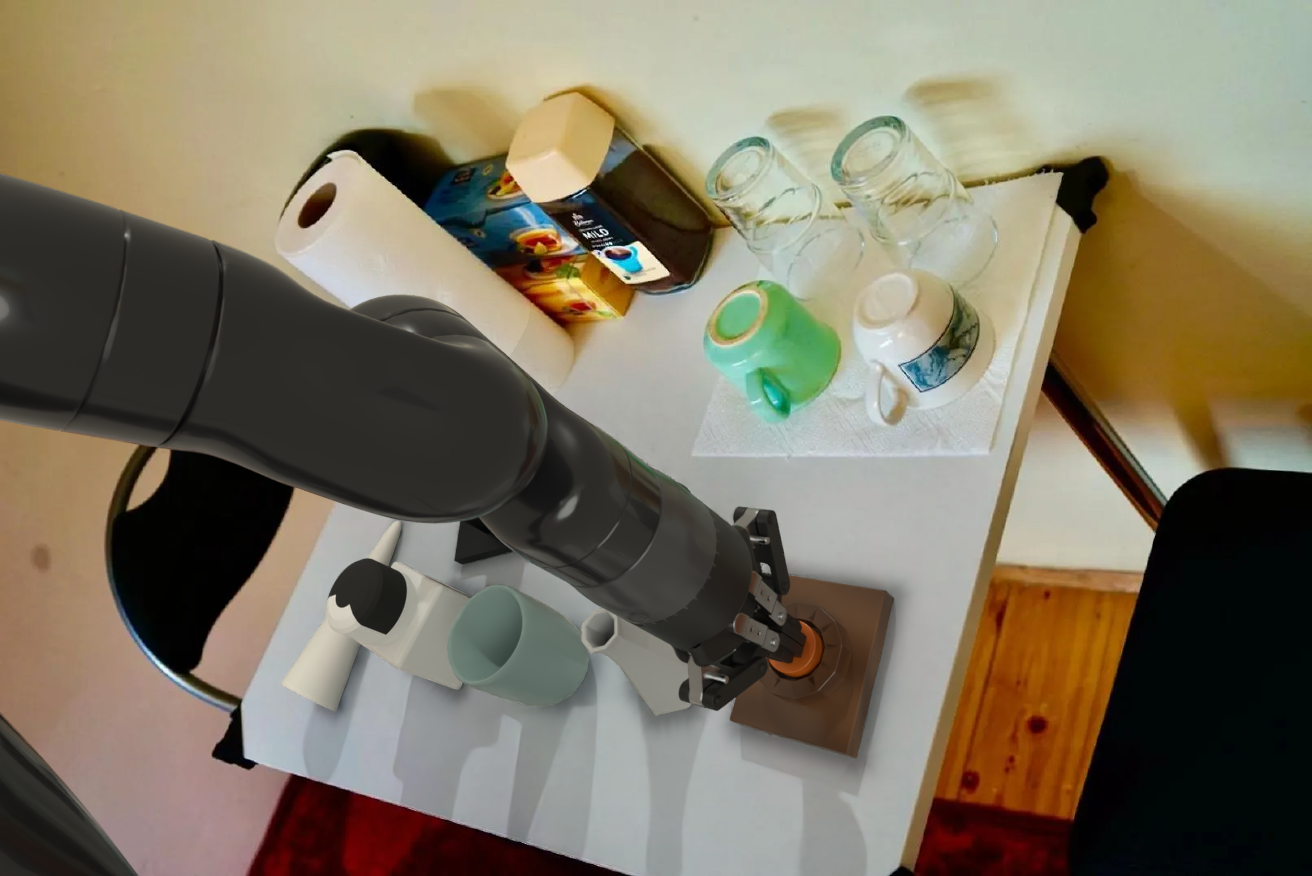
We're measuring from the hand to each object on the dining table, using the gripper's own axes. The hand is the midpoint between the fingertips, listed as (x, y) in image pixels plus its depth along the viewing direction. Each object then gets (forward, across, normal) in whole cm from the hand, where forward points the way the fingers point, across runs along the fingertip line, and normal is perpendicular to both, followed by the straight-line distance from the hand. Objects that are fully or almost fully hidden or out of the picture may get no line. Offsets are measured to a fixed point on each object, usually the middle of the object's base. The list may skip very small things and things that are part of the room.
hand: (791, 645), depth 60 cm
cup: (+4, +5, -22) cm, 23 cm away
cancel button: (+2, 0, 0) cm, 2 cm away
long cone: (+4, +5, -49) cm, 50 cm away
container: (+4, +5, -36) cm, 37 cm away
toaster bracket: (+4, -8, -35) cm, 36 cm away
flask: (+4, +3, -12) cm, 13 cm away
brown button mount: (+4, 0, 0) cm, 4 cm away
